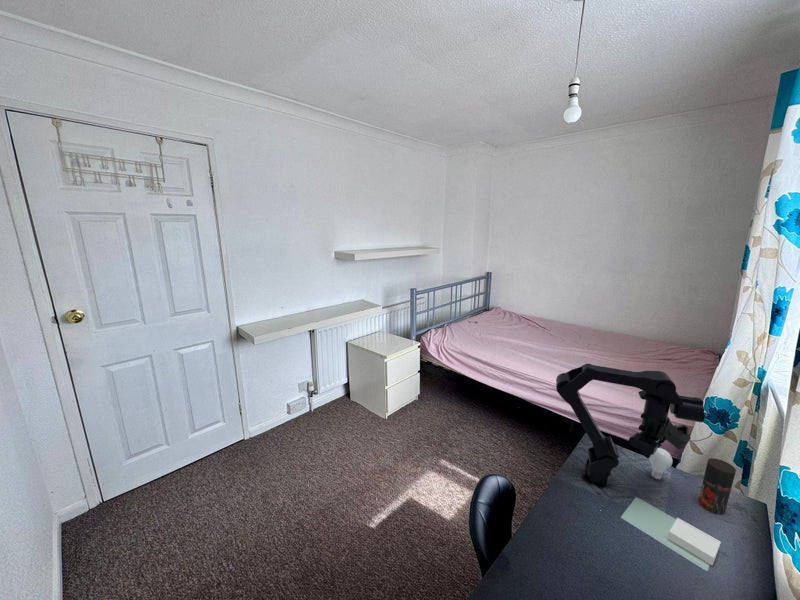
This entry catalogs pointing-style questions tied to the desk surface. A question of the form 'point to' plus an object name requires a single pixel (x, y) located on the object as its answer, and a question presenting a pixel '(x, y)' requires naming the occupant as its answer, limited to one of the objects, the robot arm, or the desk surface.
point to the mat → (657, 527)
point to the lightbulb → (660, 462)
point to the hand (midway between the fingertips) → (647, 457)
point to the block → (694, 541)
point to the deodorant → (716, 486)
